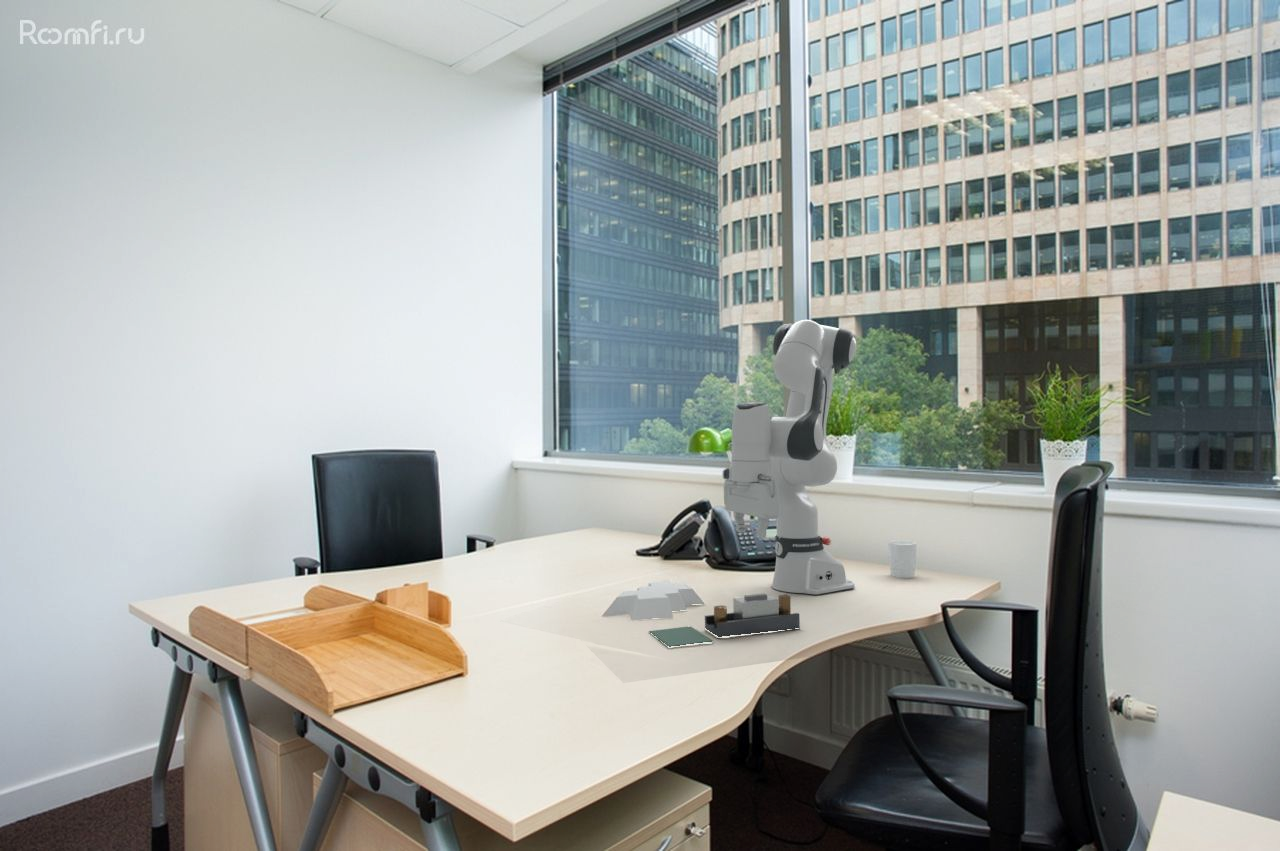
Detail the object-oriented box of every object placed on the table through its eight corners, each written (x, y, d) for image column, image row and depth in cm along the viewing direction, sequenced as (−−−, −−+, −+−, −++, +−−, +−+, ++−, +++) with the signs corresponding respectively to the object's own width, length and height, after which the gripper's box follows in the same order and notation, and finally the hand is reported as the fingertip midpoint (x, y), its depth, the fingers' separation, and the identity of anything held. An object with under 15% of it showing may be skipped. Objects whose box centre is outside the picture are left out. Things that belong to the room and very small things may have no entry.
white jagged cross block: (652, 634, 173) (652, 610, 173) (583, 622, 185) (583, 599, 184) (727, 602, 202) (726, 581, 202) (663, 593, 213) (663, 573, 213)
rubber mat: (690, 629, 174) (690, 626, 174) (713, 644, 163) (712, 640, 163) (648, 634, 171) (648, 631, 171) (669, 649, 160) (669, 646, 160)
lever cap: (769, 616, 177) (768, 591, 177) (778, 621, 173) (778, 595, 173) (733, 620, 174) (733, 595, 174) (742, 625, 170) (742, 599, 170)
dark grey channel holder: (783, 621, 180) (783, 591, 179) (799, 629, 173) (799, 598, 173) (705, 631, 173) (704, 600, 173) (718, 639, 166) (718, 607, 166)
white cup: (882, 575, 229) (882, 541, 228) (903, 572, 232) (902, 539, 232) (902, 580, 221) (901, 545, 221) (922, 577, 225) (922, 543, 225)
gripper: (787, 476, 165) (786, 540, 165) (743, 470, 184) (742, 528, 184) (760, 476, 163) (760, 542, 163) (719, 471, 182) (718, 529, 182)
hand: (750, 534), depth 174 cm, fingers open, 8 cm apart
